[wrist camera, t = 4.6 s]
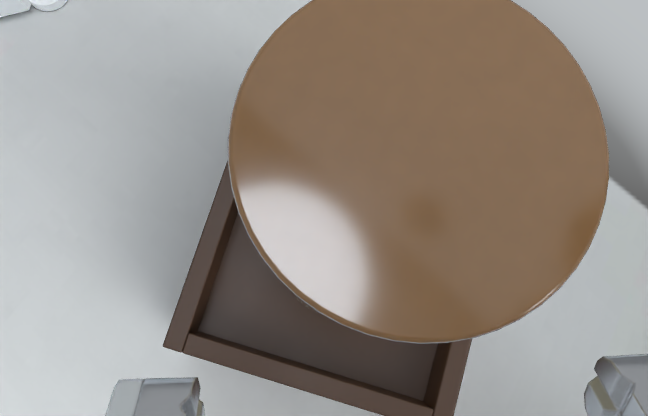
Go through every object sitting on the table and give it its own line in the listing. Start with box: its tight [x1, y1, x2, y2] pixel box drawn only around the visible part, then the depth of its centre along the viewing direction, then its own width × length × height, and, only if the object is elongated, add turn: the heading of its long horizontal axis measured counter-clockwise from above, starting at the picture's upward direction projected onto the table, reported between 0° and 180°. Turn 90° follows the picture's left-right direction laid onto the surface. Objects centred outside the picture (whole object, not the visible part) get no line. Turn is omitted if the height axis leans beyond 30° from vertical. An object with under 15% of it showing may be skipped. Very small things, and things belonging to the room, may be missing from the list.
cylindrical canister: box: [228, 0, 609, 344], centre depth 16 cm, size 6×6×16 cm
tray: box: [163, 161, 472, 416], centre depth 24 cm, size 12×12×4 cm
